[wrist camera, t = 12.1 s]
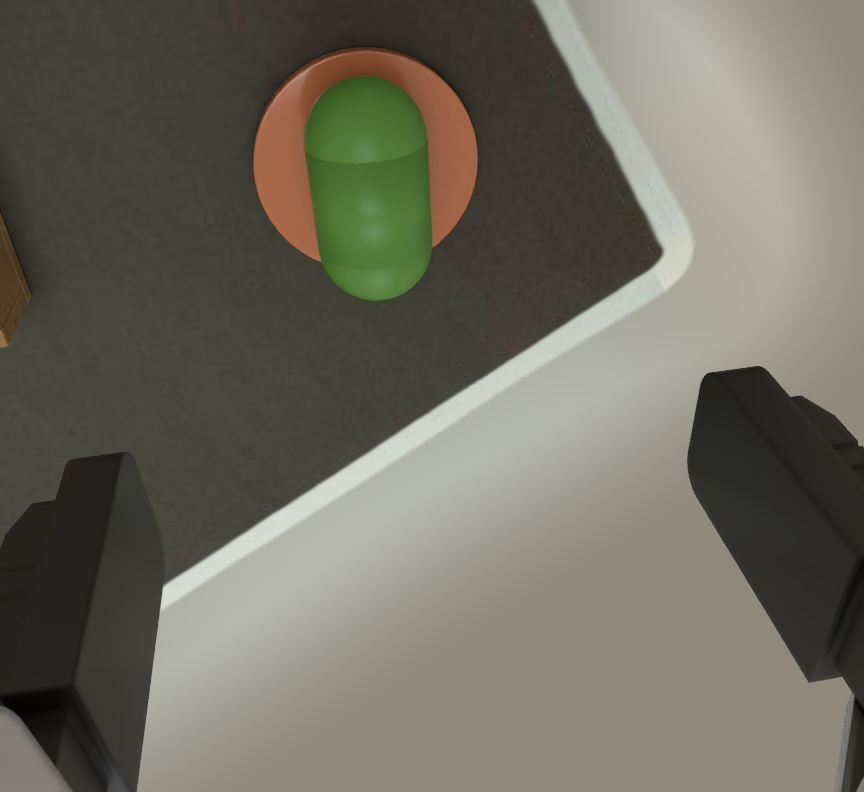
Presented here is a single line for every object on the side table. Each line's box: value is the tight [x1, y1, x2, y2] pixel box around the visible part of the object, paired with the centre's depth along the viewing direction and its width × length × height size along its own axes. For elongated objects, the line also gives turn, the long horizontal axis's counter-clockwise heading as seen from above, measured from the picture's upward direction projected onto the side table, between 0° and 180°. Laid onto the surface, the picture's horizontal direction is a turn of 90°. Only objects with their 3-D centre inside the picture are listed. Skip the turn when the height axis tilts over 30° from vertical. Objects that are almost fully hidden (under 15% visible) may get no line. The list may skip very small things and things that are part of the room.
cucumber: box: [304, 75, 433, 300], centre depth 28 cm, size 8×4×4 cm, turn 3°
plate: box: [253, 47, 478, 262], centre depth 29 cm, size 8×8×1 cm
